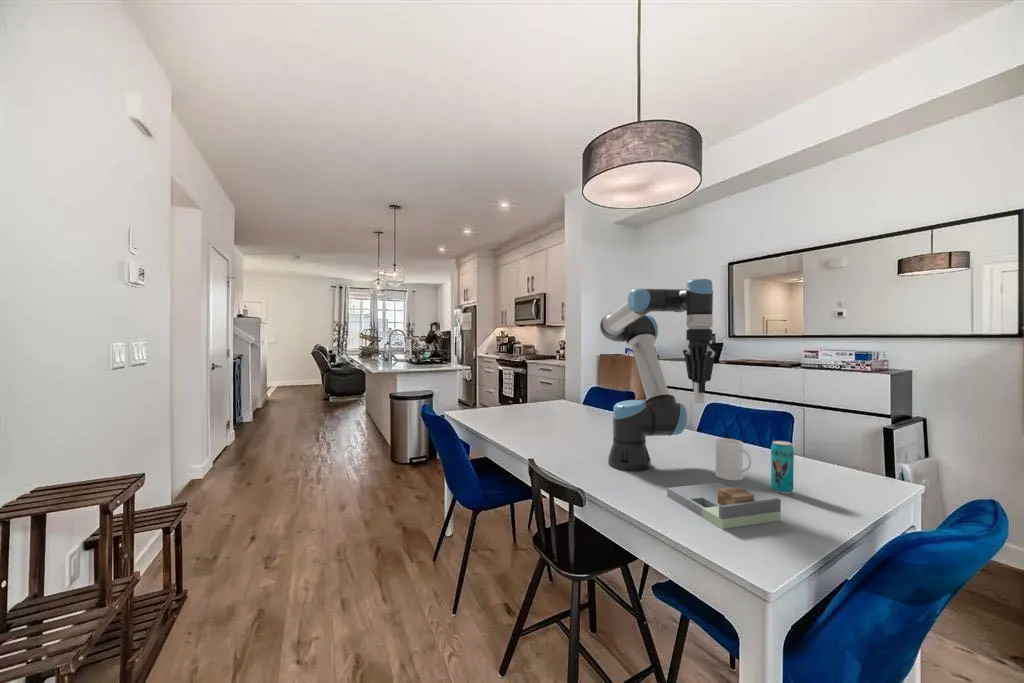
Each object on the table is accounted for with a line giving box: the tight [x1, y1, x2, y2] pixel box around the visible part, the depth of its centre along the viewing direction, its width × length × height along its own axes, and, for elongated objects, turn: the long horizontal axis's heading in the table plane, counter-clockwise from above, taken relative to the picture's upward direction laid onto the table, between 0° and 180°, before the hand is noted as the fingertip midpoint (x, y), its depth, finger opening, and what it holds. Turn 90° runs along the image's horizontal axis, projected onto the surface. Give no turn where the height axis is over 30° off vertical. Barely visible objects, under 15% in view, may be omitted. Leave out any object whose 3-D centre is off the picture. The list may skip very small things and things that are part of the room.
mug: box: [714, 437, 752, 482], centre depth 140 cm, size 12×8×12 cm
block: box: [718, 486, 755, 505], centre depth 111 cm, size 6×6×4 cm
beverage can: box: [770, 440, 795, 495], centre depth 128 cm, size 6×6×15 cm
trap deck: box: [666, 482, 782, 530], centre depth 116 cm, size 22×18×5 cm
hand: (698, 402), depth 133 cm, fingers closed
